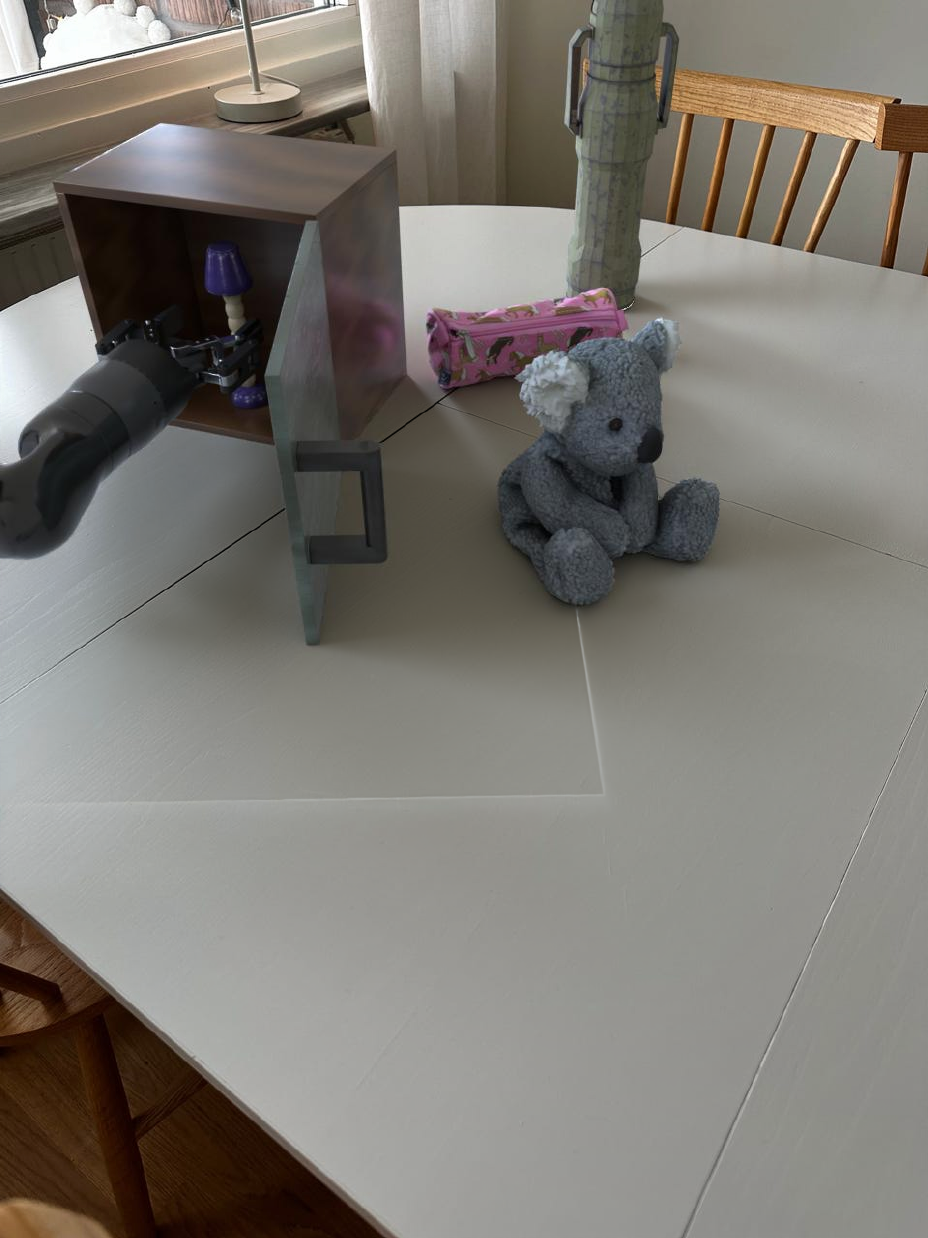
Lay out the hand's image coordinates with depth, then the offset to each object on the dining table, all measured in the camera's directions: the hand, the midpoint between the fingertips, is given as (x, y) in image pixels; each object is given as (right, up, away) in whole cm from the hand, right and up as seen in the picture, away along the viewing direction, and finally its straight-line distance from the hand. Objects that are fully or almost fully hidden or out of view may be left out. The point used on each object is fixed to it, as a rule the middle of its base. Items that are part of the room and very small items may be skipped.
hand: (218, 320), depth 95 cm
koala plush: (+35, -21, -6) cm, 41 cm away
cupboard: (+2, -4, +12) cm, 13 cm away
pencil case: (+30, -1, +16) cm, 34 cm away
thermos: (+41, +12, +30) cm, 52 cm away
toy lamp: (+1, -6, +9) cm, 11 cm away
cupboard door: (+14, -22, -7) cm, 27 cm away
